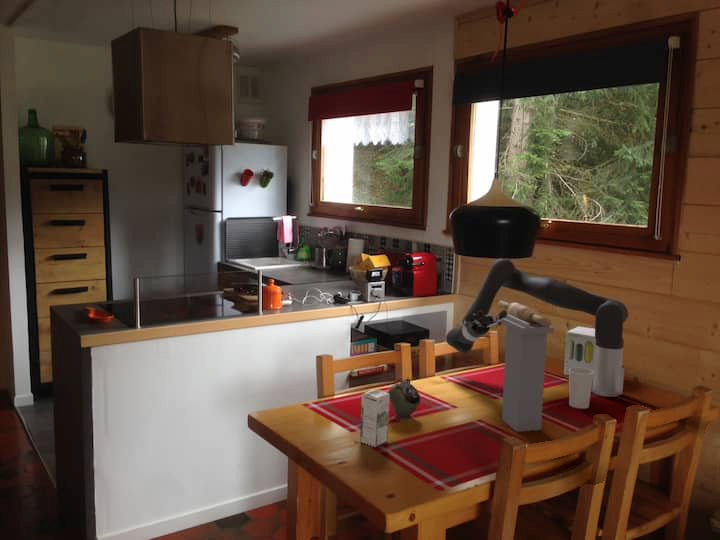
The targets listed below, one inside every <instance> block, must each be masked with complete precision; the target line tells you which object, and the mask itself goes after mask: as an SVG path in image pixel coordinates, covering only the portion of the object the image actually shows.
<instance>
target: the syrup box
mask: <svg viewBox="0 0 720 540" xmlns="http://www.w3.org/2000/svg"><path fill="white" fill-rule="evenodd" d="M389 397H390V394H389V392H386V391H384V390H380V389H372V390H369V391H366V392H362V393H361V406H360V407H361V408H360V429H359V430H360V432H359V433H360V434H359V442H360V443H361V442H362V444H364V443H365V445H367V444H368V445H367V446H370V445H371V446H370V447H373V446H374V447H373V448H377V447H379V446H381V445H383V444H385V443H388V439H389V419H390V417H389V416H390V399H389Z"/></svg>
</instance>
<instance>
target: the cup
mask: <svg viewBox="0 0 720 540" xmlns="http://www.w3.org/2000/svg"><path fill="white" fill-rule="evenodd" d="M593 375H594V371H592V370H590V369H586V368H579V367H575V368H570V369H569V376H568V385H569V386H568V387H569V389H568V391H569V393H568V394H569V395H568V398H569V399H568V400H569V402H568V404H569V406H570V407H572V408H575V409H582V410H583V409H588V408H589V407H590V400H591V393H592V388H593Z"/></svg>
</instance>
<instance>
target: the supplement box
mask: <svg viewBox="0 0 720 540" xmlns="http://www.w3.org/2000/svg"><path fill="white" fill-rule="evenodd" d="M595 347H596V339H595V328H592V327H587V326H586V327H585V326H579V325H578V326H576V327H575V328H572V329H570V330H567V331H566V337H565V349H564V350H565V353H564V364H563V365H564V368H563V375H564V376H568V375H569V369H570V368H575V367H579V368H586V369H590V370H592V371H594V361H595Z"/></svg>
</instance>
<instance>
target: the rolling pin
mask: <svg viewBox="0 0 720 540" xmlns="http://www.w3.org/2000/svg"><path fill="white" fill-rule="evenodd" d="M497 306H498V307H500V308H502V309H503V310H506V311H507V314H508V315H511V316H514V317H516V318H518V319H520V320H523V321H525V322H527V323H529V324H535V323H539V324H541V325H543V326H546V327H550V326H552V320H551V319H548V318H546V317H545V316H544V317H543V316H541V315H540V313H539V311H538V310H536V309H534V308H531V307H529V306H527V305H524V304H521V303H518V302H511V303H509V302H507V301H505V300H499V301H498V303H497Z"/></svg>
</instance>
